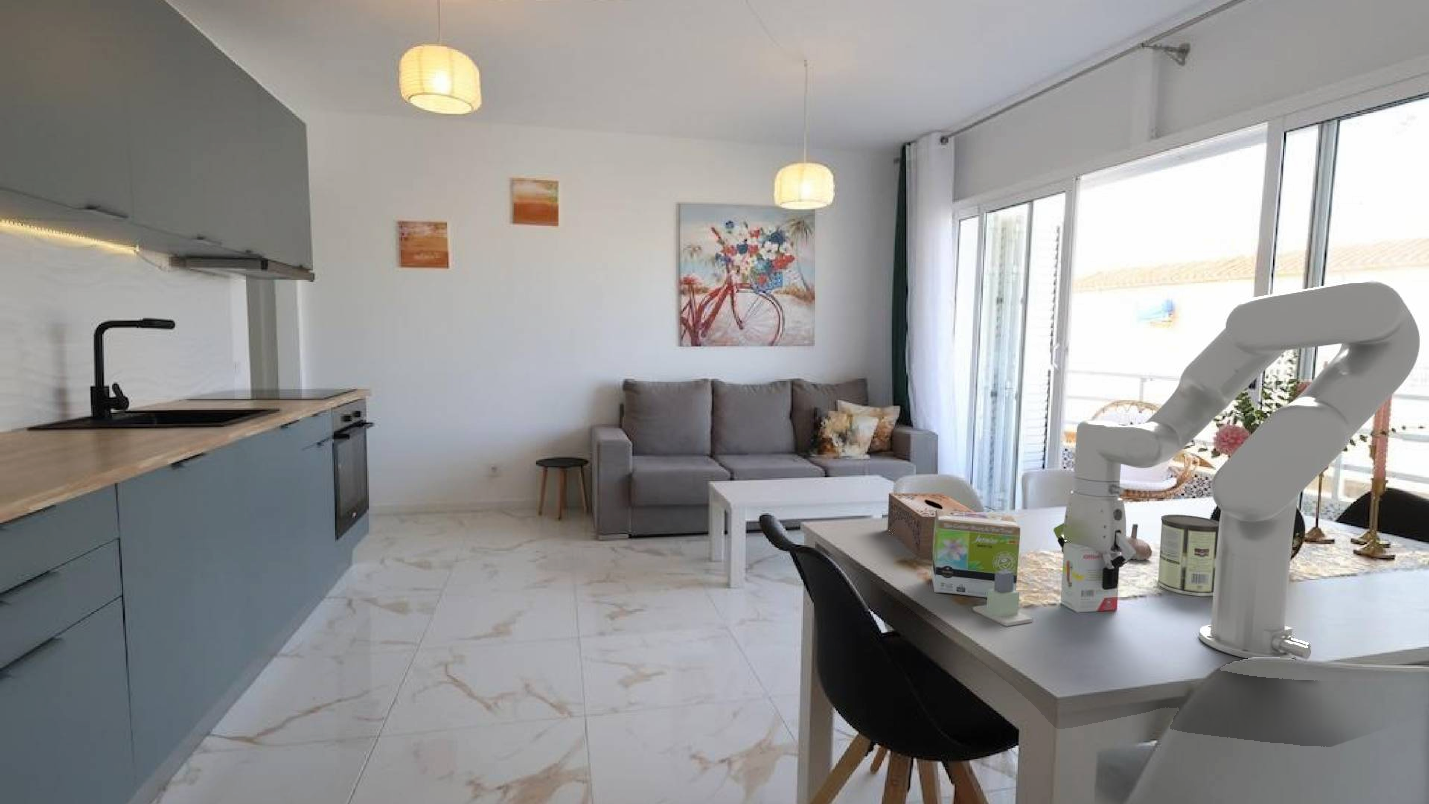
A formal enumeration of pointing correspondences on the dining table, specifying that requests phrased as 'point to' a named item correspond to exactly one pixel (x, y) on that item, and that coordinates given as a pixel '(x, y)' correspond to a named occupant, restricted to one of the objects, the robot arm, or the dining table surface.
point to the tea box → (972, 551)
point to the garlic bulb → (1139, 545)
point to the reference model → (1003, 601)
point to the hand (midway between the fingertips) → (1089, 580)
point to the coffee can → (1188, 554)
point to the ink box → (1085, 580)
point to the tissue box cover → (918, 519)
